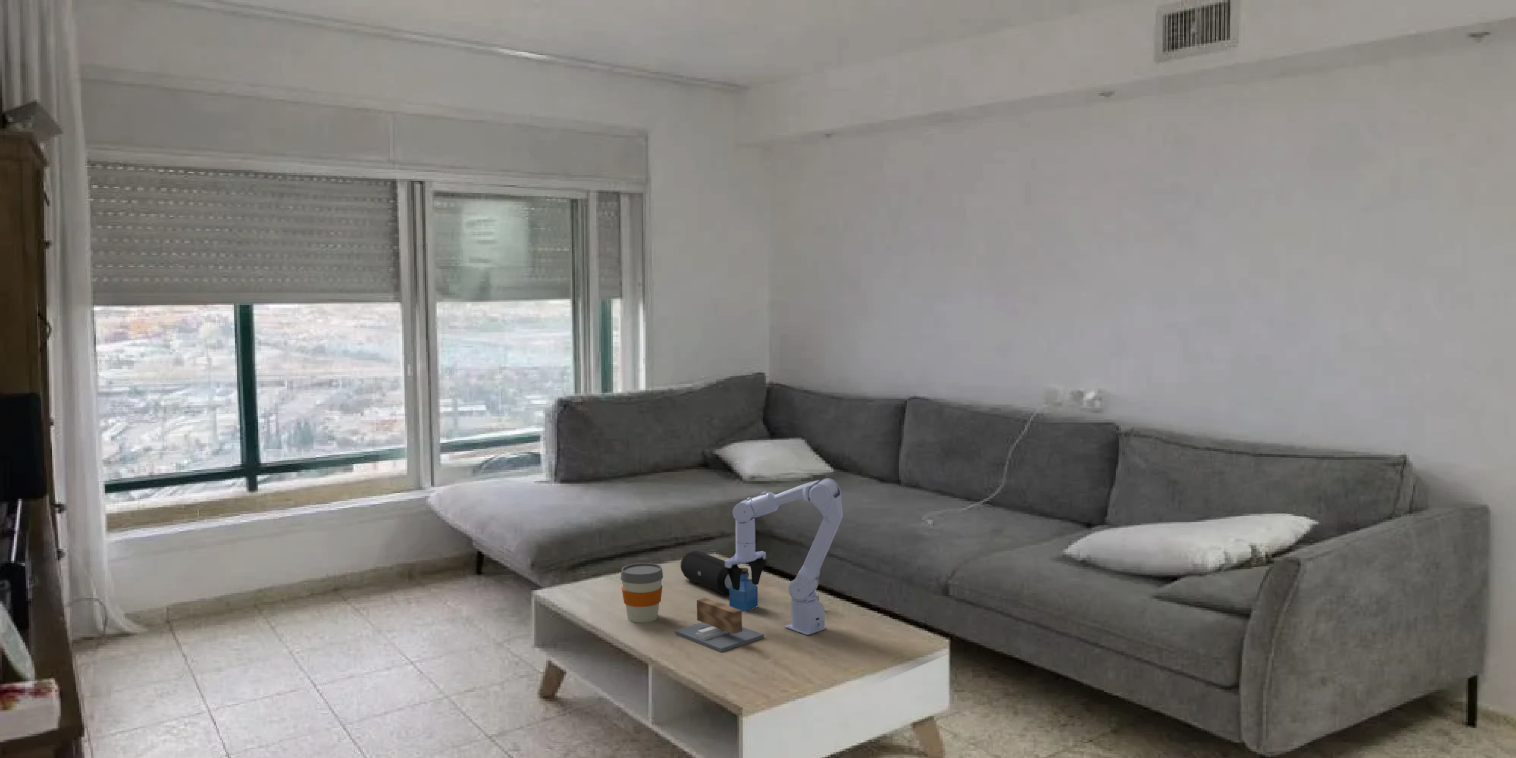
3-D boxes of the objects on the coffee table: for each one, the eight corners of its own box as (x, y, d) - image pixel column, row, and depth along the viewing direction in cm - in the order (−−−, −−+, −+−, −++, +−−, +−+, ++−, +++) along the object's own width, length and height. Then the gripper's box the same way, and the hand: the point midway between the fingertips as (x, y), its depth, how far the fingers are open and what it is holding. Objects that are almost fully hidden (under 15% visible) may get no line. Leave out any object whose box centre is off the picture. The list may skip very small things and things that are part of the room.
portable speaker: (678, 581, 349) (677, 551, 348) (703, 575, 355) (702, 546, 354) (721, 599, 328) (721, 568, 327) (747, 593, 334) (746, 563, 333)
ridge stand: (763, 637, 293) (763, 627, 293) (720, 652, 282) (720, 641, 282) (717, 620, 308) (717, 611, 308) (674, 633, 297) (674, 623, 297)
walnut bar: (741, 631, 290) (741, 610, 289) (733, 633, 288) (733, 612, 287) (705, 617, 302) (704, 597, 301) (697, 620, 300) (696, 599, 299)
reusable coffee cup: (656, 625, 304) (655, 575, 303) (615, 623, 307) (614, 573, 305) (668, 612, 316) (668, 563, 315) (629, 609, 319) (628, 561, 317)
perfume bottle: (745, 611, 316) (745, 573, 315) (729, 608, 320) (729, 570, 318) (757, 606, 321) (757, 568, 320) (741, 602, 325) (741, 565, 323)
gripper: (754, 534, 313) (754, 578, 314) (717, 543, 303) (718, 588, 305) (770, 538, 308) (770, 583, 309) (733, 547, 298) (734, 594, 299)
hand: (745, 586), depth 307 cm, fingers open, 7 cm apart
